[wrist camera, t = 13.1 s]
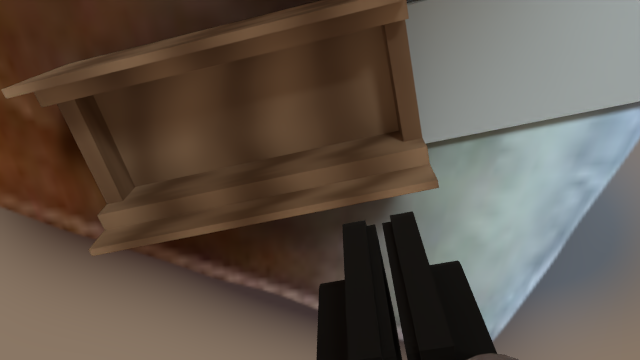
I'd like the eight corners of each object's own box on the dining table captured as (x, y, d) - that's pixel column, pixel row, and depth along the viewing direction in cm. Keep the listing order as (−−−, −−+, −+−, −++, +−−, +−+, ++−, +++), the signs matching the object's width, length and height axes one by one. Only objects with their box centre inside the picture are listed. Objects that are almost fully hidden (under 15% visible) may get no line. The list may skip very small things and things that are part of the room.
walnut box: (392, -18, 28) (411, -13, 22) (417, 145, 32) (438, 187, 26) (67, 64, 30) (1, 89, 24) (133, 204, 35) (92, 256, 29)
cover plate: (698, -65, 27) (726, -68, 25) (680, 84, 31) (703, 92, 29) (398, 4, 29) (403, 7, 27) (416, 137, 33) (421, 147, 31)
